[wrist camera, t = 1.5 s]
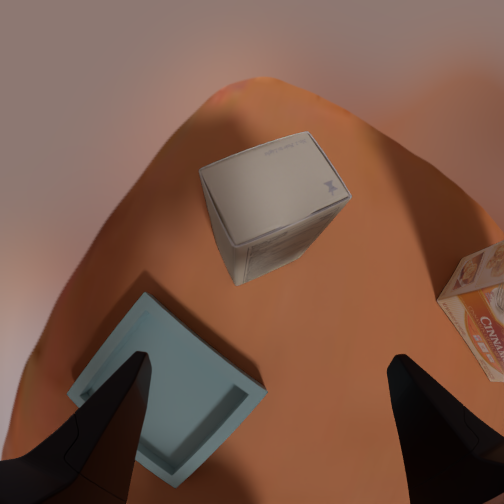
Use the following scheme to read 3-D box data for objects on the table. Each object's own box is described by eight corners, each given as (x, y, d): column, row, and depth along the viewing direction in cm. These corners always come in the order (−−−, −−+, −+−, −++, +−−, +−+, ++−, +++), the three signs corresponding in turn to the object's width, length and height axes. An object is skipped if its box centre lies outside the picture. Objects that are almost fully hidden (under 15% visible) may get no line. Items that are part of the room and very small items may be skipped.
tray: (265, 387, 21) (268, 392, 19) (179, 478, 18) (175, 488, 16) (151, 294, 23) (144, 291, 21) (77, 390, 20) (66, 394, 18)
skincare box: (278, 215, 25) (311, 126, 13) (301, 259, 24) (358, 196, 12) (212, 243, 24) (194, 164, 12) (234, 291, 23) (233, 249, 11)
